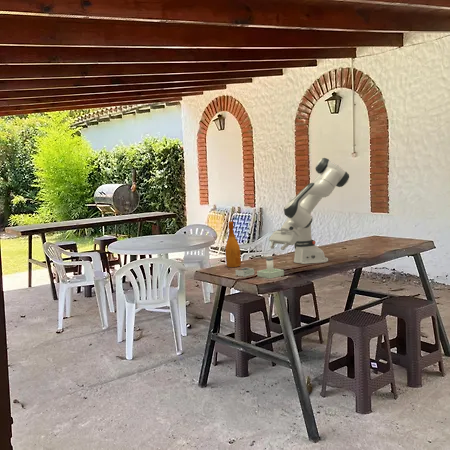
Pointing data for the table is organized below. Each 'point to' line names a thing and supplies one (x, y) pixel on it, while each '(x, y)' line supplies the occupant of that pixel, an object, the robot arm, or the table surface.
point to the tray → (270, 275)
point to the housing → (245, 272)
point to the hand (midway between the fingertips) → (276, 248)
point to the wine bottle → (232, 249)
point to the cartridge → (269, 264)
